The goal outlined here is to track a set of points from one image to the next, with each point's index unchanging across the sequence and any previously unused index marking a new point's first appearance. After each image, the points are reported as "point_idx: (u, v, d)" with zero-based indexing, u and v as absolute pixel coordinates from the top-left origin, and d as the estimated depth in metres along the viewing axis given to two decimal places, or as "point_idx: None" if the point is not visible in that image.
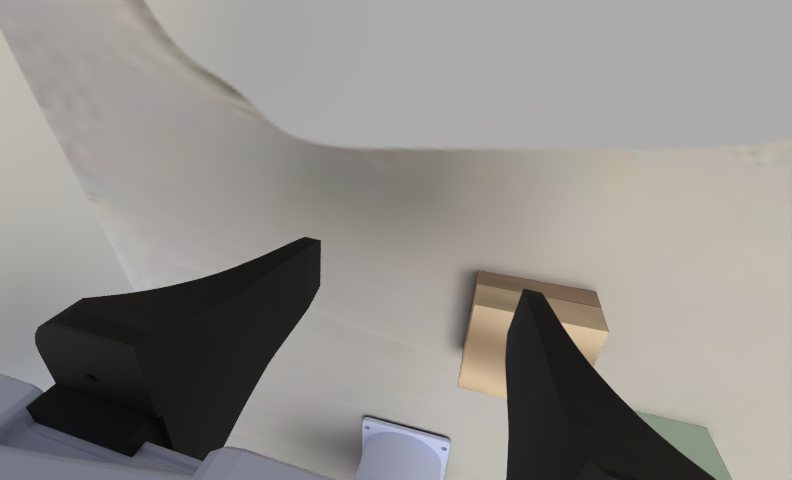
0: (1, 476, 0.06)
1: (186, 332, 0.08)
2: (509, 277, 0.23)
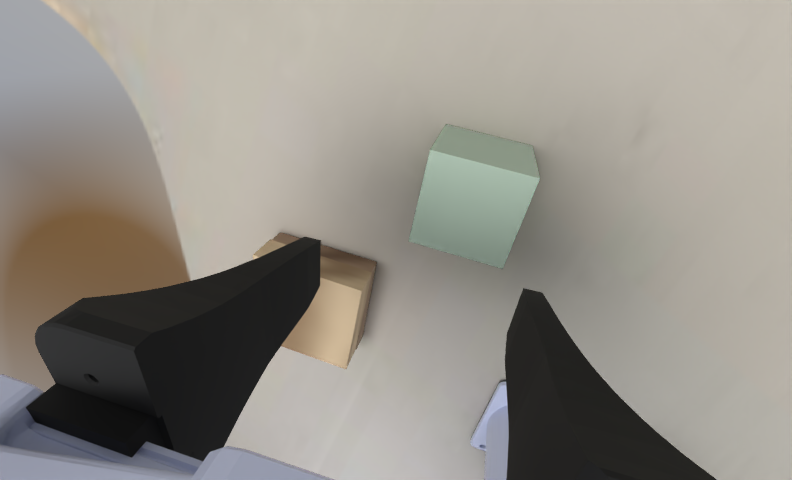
0: (1, 476, 0.06)
1: (186, 332, 0.08)
2: None
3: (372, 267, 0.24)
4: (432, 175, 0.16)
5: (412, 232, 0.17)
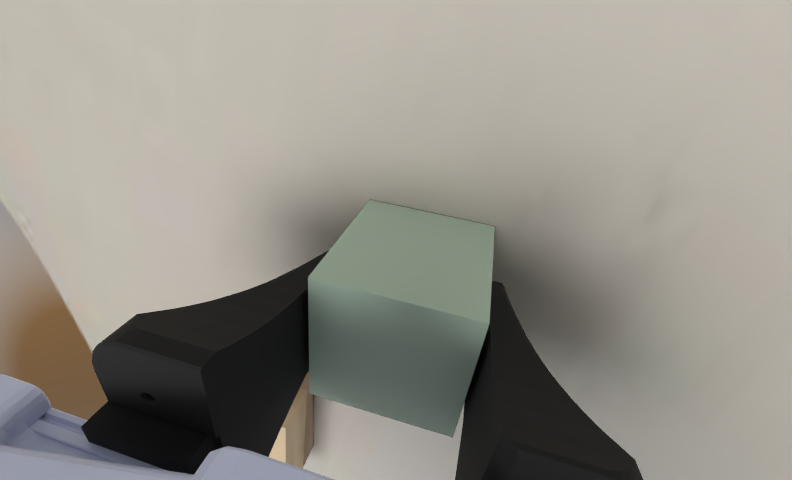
0: (1, 476, 0.06)
1: (243, 349, 0.07)
2: None
3: (306, 374, 0.18)
4: (320, 311, 0.10)
5: (312, 383, 0.11)
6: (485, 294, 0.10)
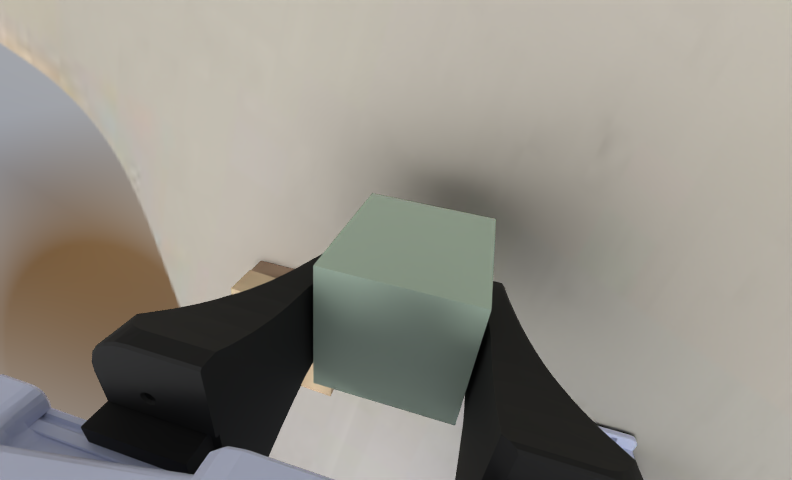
0: (1, 476, 0.06)
1: (243, 348, 0.07)
2: None
3: None
4: (325, 300, 0.10)
5: (316, 372, 0.11)
6: (487, 282, 0.10)
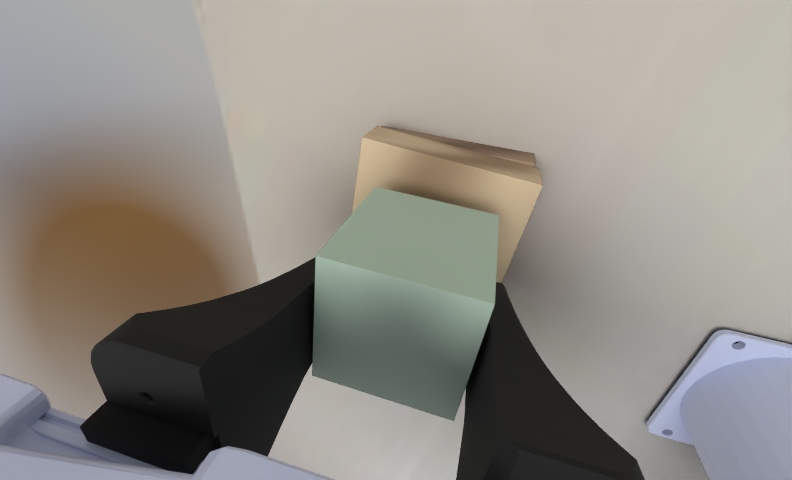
0: (1, 476, 0.06)
1: (241, 348, 0.07)
2: None
3: (533, 158, 0.16)
4: (327, 291, 0.10)
5: (315, 364, 0.11)
6: (490, 277, 0.10)
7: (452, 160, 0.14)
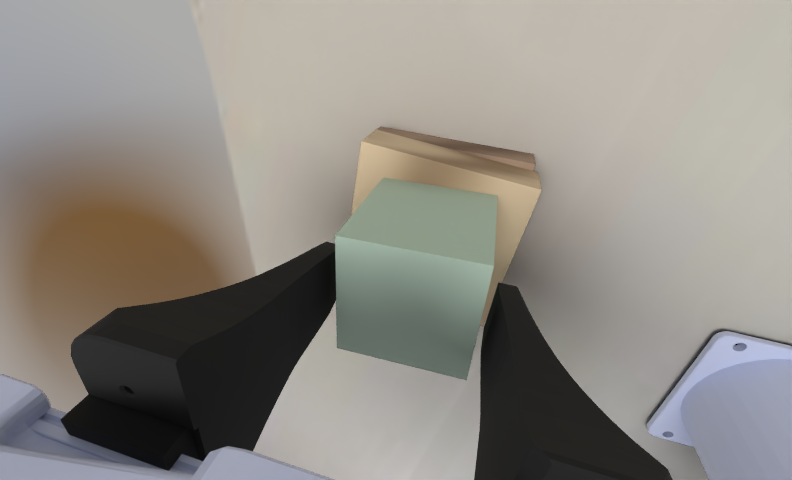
0: (1, 476, 0.06)
1: (222, 342, 0.07)
2: None
3: (532, 158, 0.16)
4: (346, 267, 0.11)
5: (339, 337, 0.13)
6: (490, 245, 0.11)
7: (451, 164, 0.14)
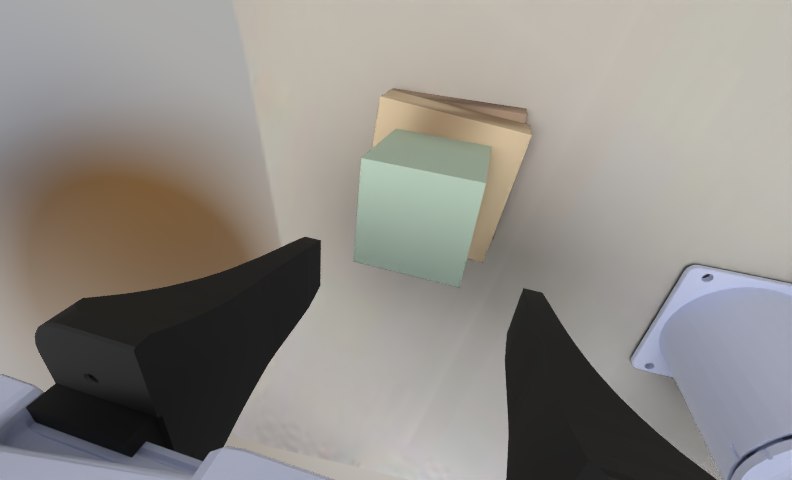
0: (1, 476, 0.06)
1: (186, 332, 0.08)
2: None
3: (525, 111, 0.18)
4: (368, 186, 0.14)
5: (356, 251, 0.15)
6: (483, 172, 0.14)
7: (456, 115, 0.17)
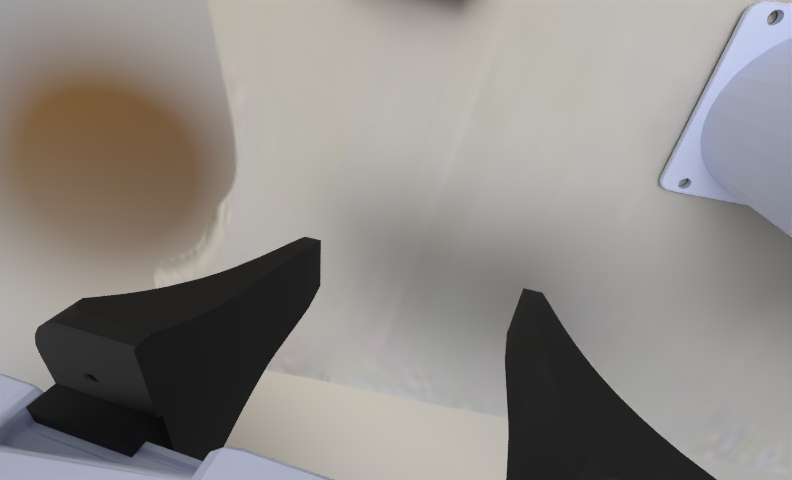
0: (1, 476, 0.06)
1: (186, 332, 0.08)
2: None
3: None
4: None
5: None
6: None
7: None
